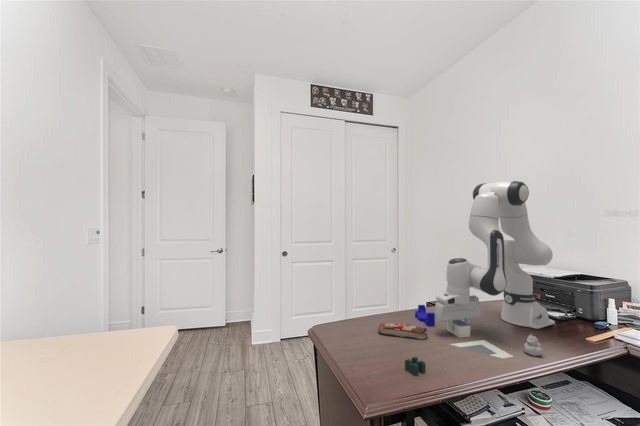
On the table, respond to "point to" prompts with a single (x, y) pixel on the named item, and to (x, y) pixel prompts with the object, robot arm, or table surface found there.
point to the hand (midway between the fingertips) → (458, 329)
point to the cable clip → (425, 316)
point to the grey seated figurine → (533, 346)
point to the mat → (483, 348)
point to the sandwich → (403, 330)
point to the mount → (415, 366)
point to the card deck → (460, 328)
